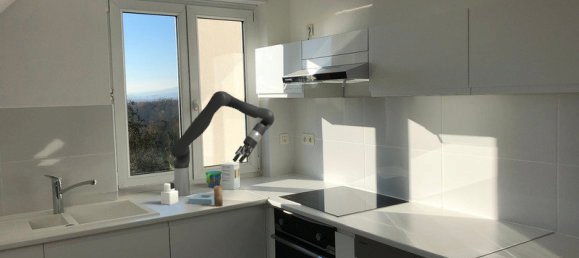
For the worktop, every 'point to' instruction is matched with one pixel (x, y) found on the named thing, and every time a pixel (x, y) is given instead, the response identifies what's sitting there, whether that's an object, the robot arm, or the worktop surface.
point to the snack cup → (213, 178)
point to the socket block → (202, 199)
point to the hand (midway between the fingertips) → (236, 161)
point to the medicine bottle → (169, 194)
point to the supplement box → (230, 176)
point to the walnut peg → (218, 196)
